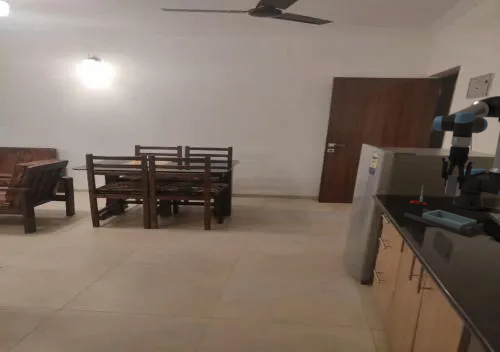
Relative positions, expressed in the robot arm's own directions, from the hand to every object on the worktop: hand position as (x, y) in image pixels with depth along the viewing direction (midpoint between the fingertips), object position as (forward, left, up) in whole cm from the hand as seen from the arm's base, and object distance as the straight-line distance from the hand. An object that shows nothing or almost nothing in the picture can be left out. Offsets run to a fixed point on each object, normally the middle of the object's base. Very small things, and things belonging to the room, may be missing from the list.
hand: (452, 194), depth 150 cm
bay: (0, -3, -16) cm, 17 cm away
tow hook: (-24, -31, -17) cm, 42 cm away
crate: (0, 0, -15) cm, 15 cm away
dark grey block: (0, 0, -1) cm, 1 cm away
